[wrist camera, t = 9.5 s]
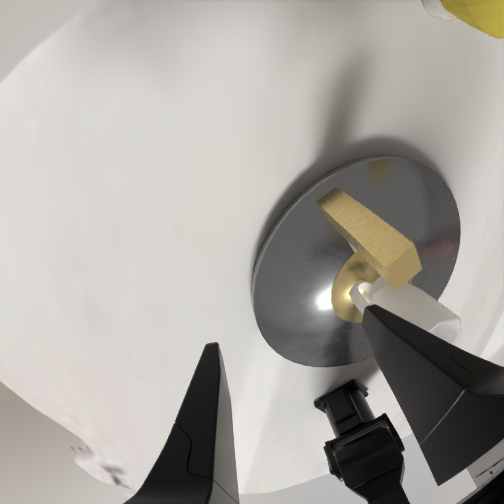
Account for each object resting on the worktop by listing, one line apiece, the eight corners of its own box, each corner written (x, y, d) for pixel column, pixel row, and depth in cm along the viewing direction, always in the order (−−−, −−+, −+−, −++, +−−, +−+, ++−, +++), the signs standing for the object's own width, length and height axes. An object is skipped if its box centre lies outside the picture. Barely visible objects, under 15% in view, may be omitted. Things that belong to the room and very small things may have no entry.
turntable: (463, 275, 29) (513, 323, 20) (322, 383, 32) (350, 449, 24) (418, 106, 18) (517, 129, 10) (193, 273, 21) (198, 378, 13)
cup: (379, 328, 27) (418, 386, 20) (309, 303, 24) (349, 378, 17) (422, 275, 25) (473, 326, 18) (360, 233, 21) (424, 295, 14)
